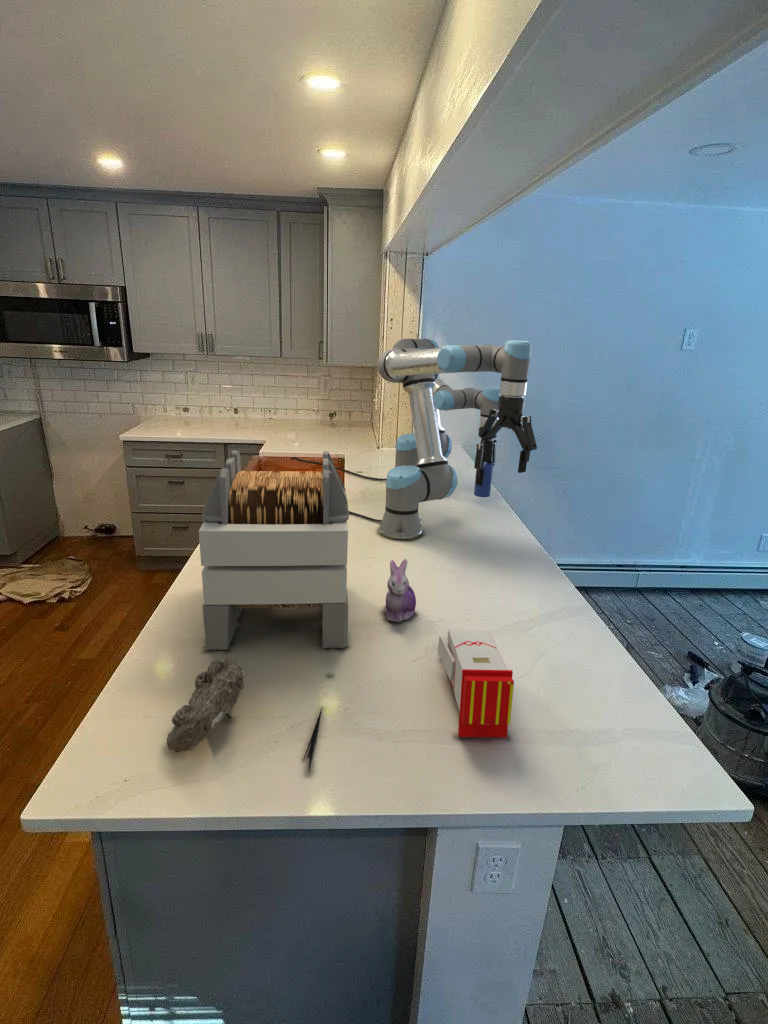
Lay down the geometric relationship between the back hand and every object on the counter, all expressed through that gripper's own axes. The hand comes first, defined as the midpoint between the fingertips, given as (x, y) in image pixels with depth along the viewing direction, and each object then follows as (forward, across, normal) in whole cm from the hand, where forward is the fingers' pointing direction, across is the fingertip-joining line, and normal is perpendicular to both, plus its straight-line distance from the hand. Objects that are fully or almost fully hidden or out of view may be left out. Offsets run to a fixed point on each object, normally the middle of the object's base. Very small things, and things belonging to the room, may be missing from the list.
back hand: (482, 482), depth 231 cm
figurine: (+10, -95, -25) cm, 99 cm away
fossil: (+10, -150, -19) cm, 152 cm away
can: (+5, 0, 0) cm, 5 cm away
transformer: (+10, -115, -1) cm, 115 cm away
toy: (+10, -112, -54) cm, 125 cm away
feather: (+10, -138, -35) cm, 143 cm away
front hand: (-21, -47, -28) cm, 59 cm away
